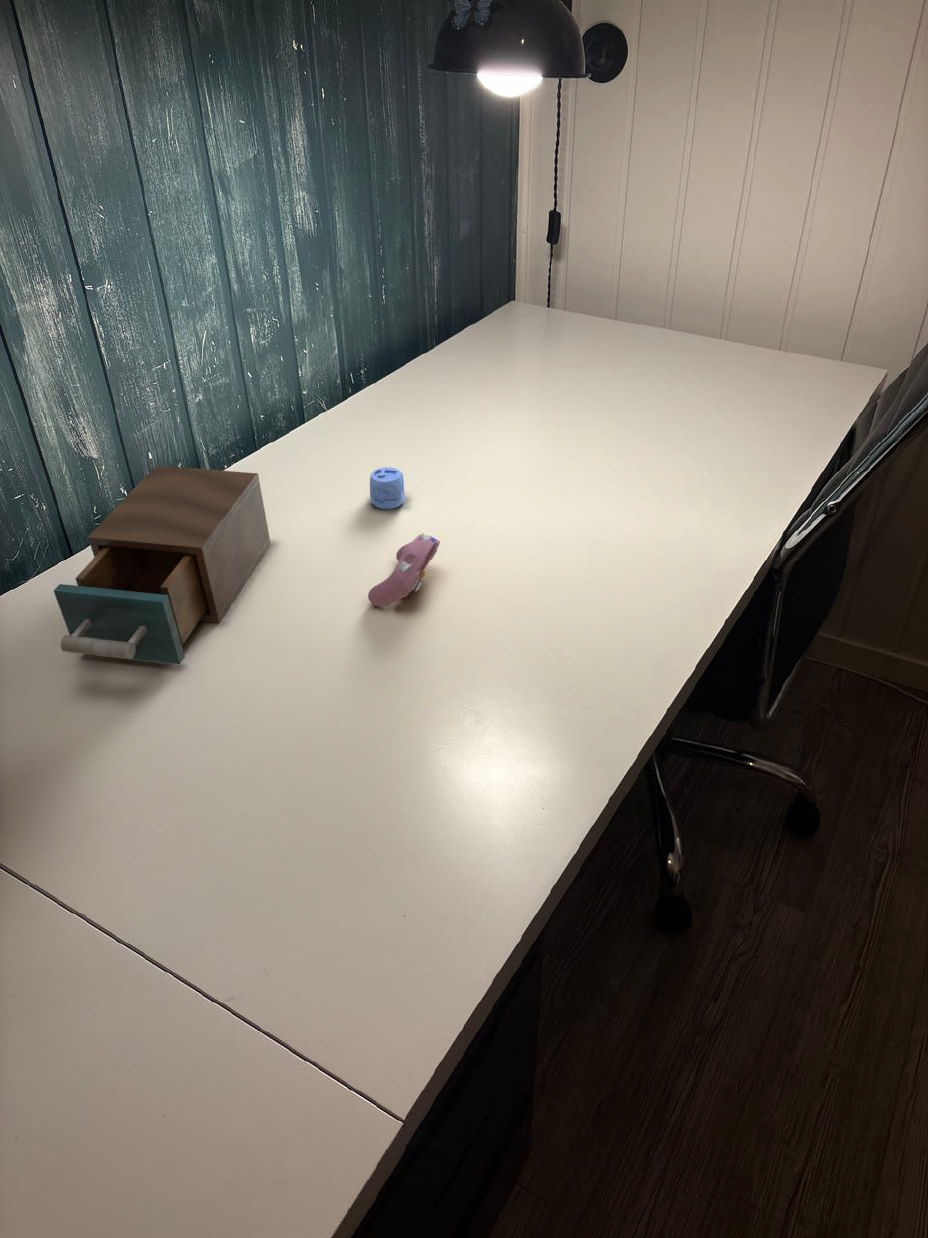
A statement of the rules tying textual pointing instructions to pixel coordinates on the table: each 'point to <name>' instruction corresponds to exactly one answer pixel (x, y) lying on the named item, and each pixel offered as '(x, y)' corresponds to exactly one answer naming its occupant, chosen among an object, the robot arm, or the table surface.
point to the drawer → (133, 604)
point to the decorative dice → (387, 488)
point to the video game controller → (405, 571)
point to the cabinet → (195, 526)
